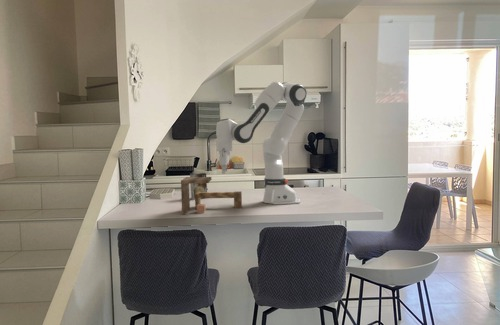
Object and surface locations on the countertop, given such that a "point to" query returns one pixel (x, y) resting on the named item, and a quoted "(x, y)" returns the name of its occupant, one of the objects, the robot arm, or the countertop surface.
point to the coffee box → (197, 185)
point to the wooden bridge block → (235, 195)
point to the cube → (201, 208)
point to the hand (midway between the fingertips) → (224, 172)
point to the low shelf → (185, 190)
